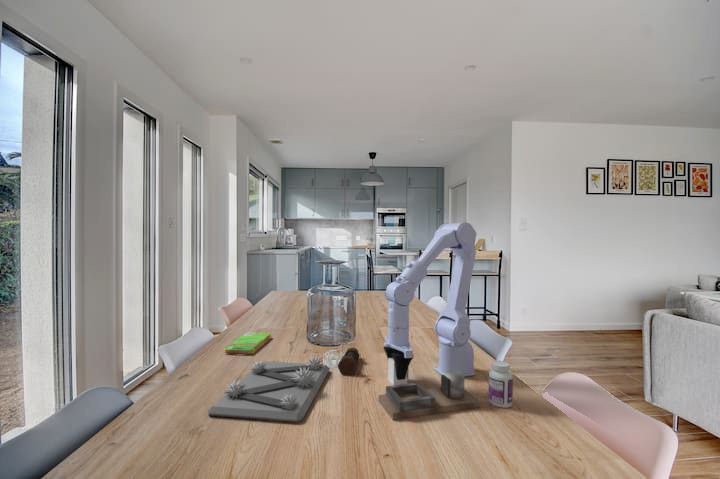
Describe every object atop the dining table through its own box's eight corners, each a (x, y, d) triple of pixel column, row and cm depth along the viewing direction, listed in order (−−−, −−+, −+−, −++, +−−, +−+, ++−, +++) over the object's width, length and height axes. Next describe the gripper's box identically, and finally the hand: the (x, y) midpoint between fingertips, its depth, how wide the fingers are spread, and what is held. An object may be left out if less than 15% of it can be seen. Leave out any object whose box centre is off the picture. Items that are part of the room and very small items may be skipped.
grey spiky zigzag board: (260, 368, 106) (260, 344, 106) (330, 372, 103) (330, 348, 103) (204, 419, 76) (204, 386, 76) (301, 426, 73) (301, 392, 73)
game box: (271, 341, 135) (250, 356, 115) (246, 340, 136) (222, 355, 116) (271, 333, 135) (251, 346, 115) (246, 332, 136) (222, 345, 116)
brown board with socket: (458, 391, 90) (458, 365, 90) (480, 407, 82) (480, 379, 82) (378, 401, 84) (378, 374, 84) (392, 420, 75) (393, 390, 75)
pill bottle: (503, 397, 87) (503, 358, 87) (517, 407, 82) (517, 366, 82) (483, 399, 86) (484, 360, 86) (496, 409, 81) (497, 367, 81)
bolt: (355, 363, 115) (349, 380, 100) (342, 355, 115) (334, 370, 100) (364, 348, 115) (359, 363, 100) (351, 340, 115) (344, 353, 100)
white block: (403, 378, 98) (403, 356, 98) (409, 383, 95) (409, 361, 95) (388, 379, 97) (388, 358, 97) (393, 385, 93) (393, 363, 93)
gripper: (375, 320, 102) (375, 367, 102) (395, 334, 88) (394, 388, 88) (398, 319, 104) (397, 365, 104) (420, 332, 90) (419, 385, 90)
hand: (397, 375), depth 96 cm, fingers closed on white block, 4 cm apart
